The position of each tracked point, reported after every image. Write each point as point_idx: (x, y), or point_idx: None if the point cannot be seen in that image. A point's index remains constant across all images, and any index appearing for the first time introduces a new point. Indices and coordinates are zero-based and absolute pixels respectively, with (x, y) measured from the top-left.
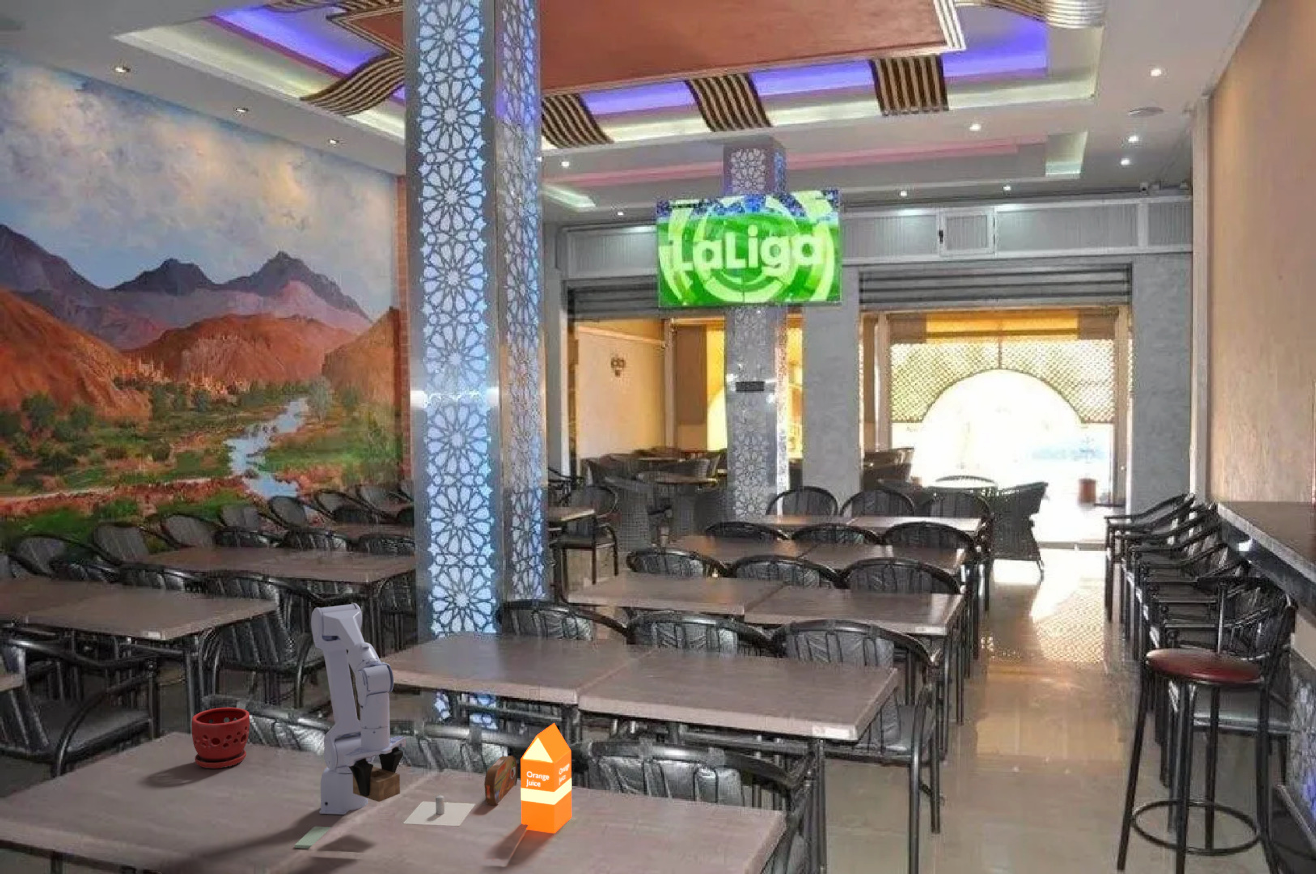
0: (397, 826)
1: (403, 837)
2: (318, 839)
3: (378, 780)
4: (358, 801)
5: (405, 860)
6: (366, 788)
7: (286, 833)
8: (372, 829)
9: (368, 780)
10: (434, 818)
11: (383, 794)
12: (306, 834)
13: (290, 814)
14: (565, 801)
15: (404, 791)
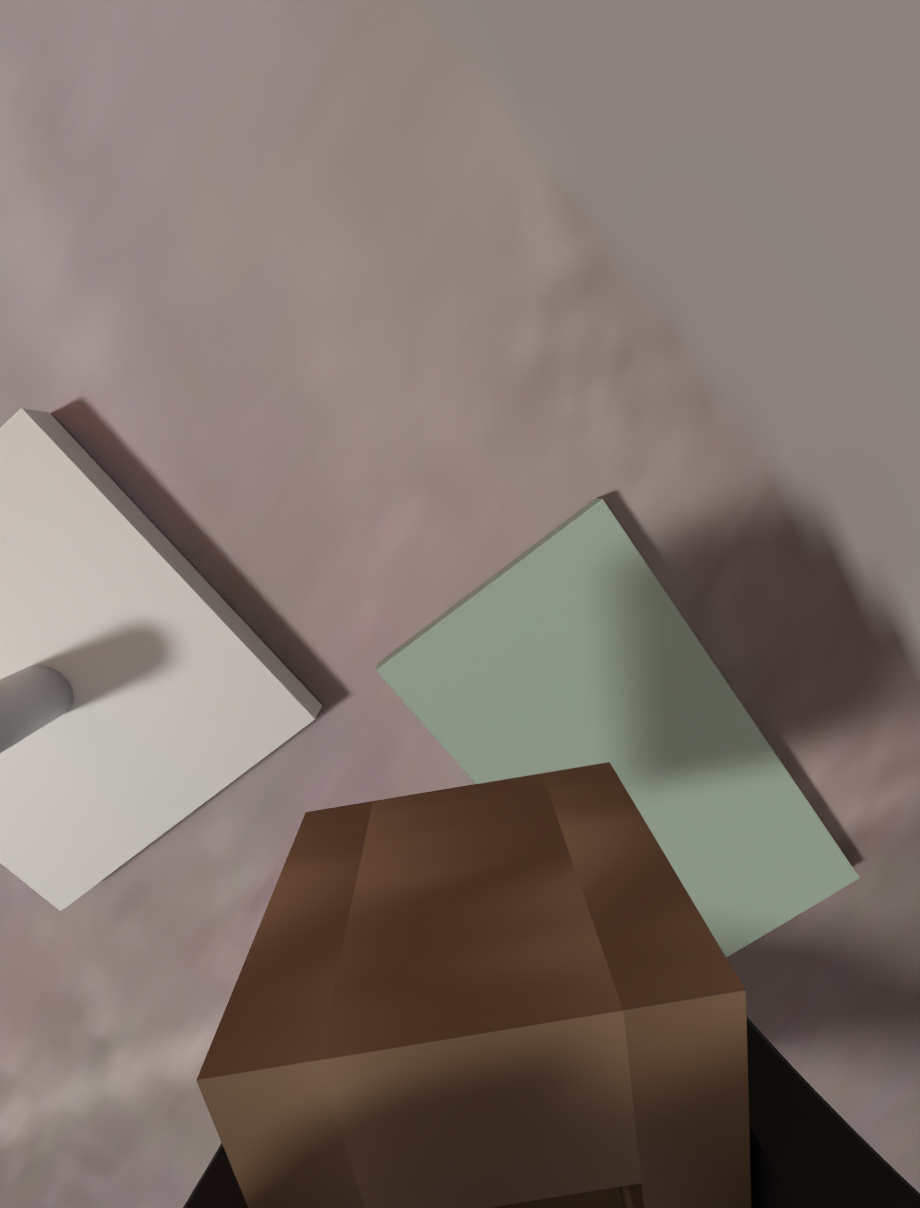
0: (331, 750)
1: (385, 594)
2: (749, 857)
3: (687, 1065)
4: None
5: (568, 268)
6: (747, 1017)
7: (762, 1019)
8: None
9: (809, 1158)
10: (112, 649)
11: (560, 817)
12: (745, 943)
13: None
14: None
15: (77, 1090)
